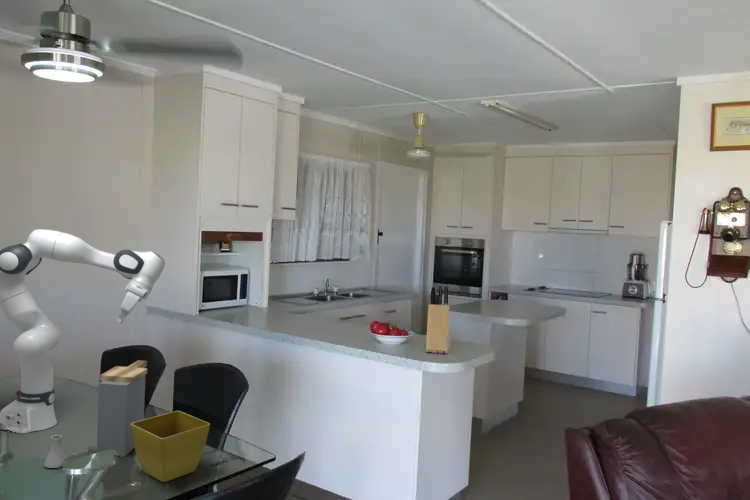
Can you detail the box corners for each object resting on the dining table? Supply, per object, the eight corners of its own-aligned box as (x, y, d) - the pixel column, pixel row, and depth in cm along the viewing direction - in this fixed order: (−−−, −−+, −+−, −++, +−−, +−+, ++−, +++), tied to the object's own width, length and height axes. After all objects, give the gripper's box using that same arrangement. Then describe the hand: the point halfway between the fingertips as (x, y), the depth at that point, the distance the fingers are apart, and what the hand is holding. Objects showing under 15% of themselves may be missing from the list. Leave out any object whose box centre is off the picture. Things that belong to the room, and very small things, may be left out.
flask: (57, 471, 199) (58, 442, 199) (38, 468, 201) (39, 439, 200) (72, 462, 206) (73, 434, 206) (54, 459, 208) (54, 431, 207)
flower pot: (127, 471, 203) (129, 422, 201) (176, 454, 218) (178, 409, 217) (160, 490, 191) (162, 439, 190) (209, 471, 206) (211, 423, 205)
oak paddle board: (100, 380, 214) (100, 375, 214) (127, 364, 236) (127, 359, 236) (133, 383, 214) (133, 377, 214) (157, 366, 236) (157, 361, 236)
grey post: (96, 454, 213) (98, 383, 211) (117, 437, 229) (119, 370, 227) (124, 457, 213) (126, 385, 211) (143, 439, 229) (145, 372, 227)
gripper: (130, 288, 244) (112, 319, 240) (129, 285, 225) (109, 318, 221) (145, 296, 246) (127, 326, 242) (145, 293, 227) (125, 326, 223)
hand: (118, 322), depth 231 cm, fingers open, 8 cm apart
